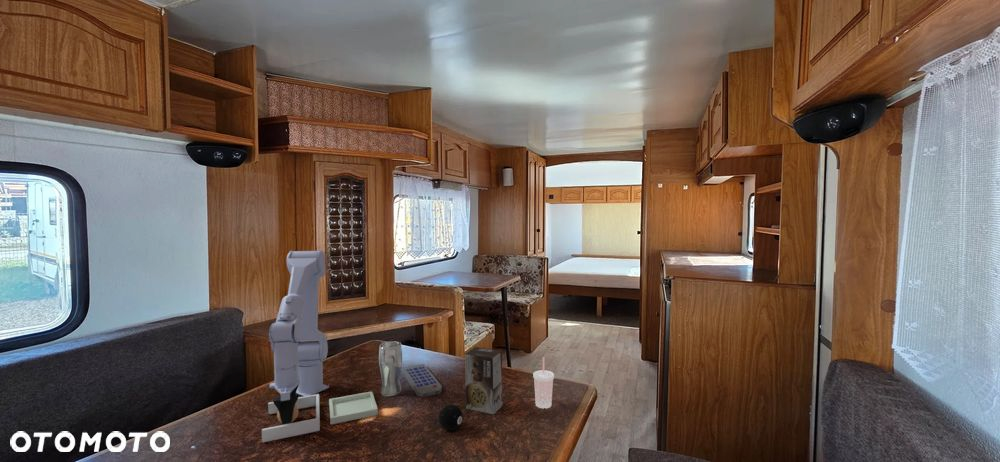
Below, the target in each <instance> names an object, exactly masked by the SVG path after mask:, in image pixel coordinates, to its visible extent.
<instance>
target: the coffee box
mask: <svg viewBox="0 0 1000 462" xmlns="http://www.w3.org/2000/svg"><path fill="white" fill-rule="evenodd" d="M502 352H503V351H502V350H500V349H499V350H498V349H492V348H485V347H479V346H474V347H473V348H471V349H469V351H467V352H465V353H464V364H465V365H464V367H465V369H464V371H465V409H466V410H470V411H475V412H481V413H485V414H490V415H495V414H496V413H497V412H498V411H499V410H500V409H501V408H502V407H503V353H502Z"/></svg>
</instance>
